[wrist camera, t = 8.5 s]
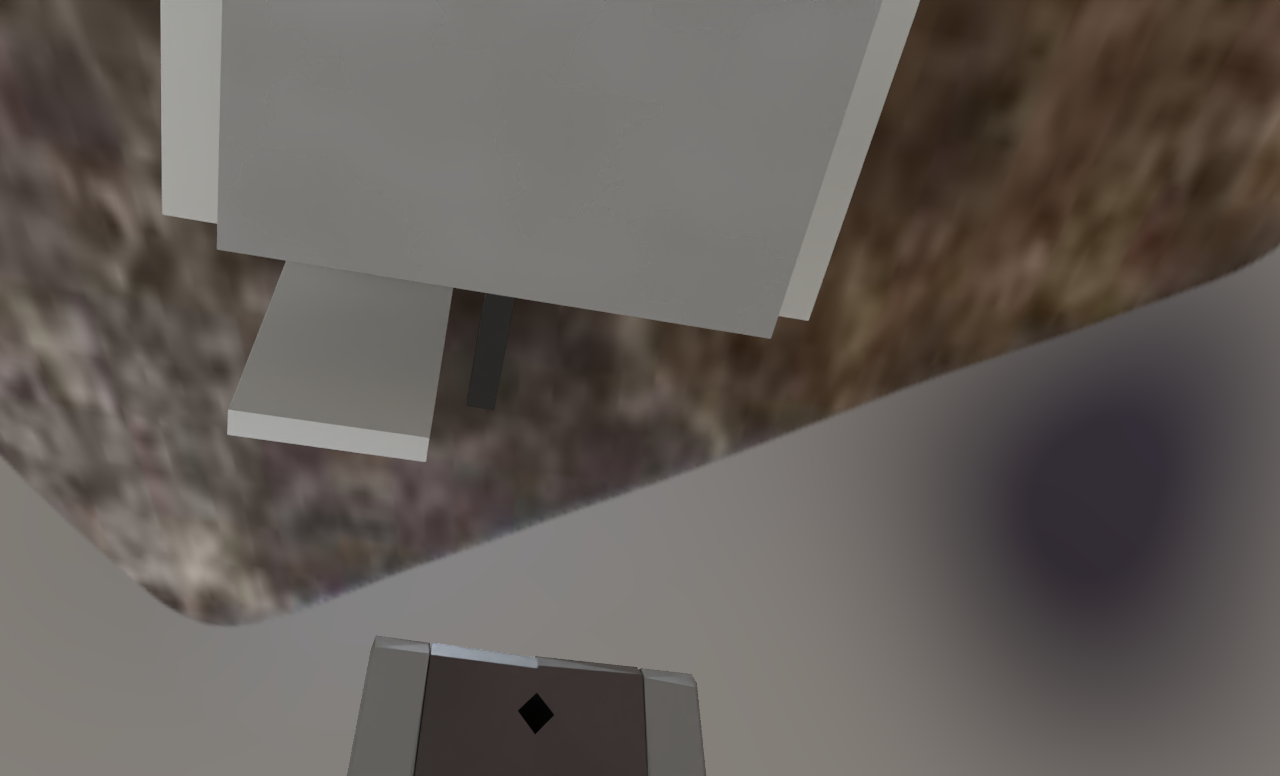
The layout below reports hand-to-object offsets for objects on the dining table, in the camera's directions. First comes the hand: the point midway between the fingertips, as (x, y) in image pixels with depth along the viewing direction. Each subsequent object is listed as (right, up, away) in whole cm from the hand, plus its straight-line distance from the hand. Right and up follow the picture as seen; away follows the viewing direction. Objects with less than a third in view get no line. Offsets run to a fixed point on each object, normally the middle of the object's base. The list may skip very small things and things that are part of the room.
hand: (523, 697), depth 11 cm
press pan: (-2, +12, +21) cm, 24 cm away
